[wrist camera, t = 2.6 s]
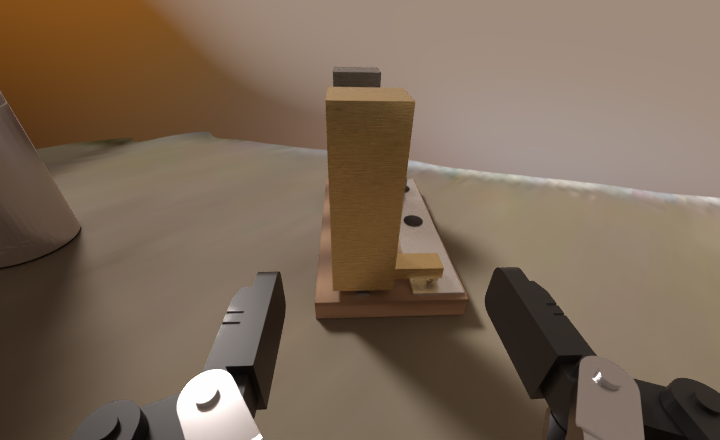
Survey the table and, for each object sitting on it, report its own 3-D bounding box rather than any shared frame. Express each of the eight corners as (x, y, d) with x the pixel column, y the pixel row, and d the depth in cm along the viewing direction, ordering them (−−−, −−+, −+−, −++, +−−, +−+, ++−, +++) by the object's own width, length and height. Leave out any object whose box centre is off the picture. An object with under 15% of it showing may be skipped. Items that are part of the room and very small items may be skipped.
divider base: (463, 314, 27) (527, 119, 17) (316, 318, 26) (298, 117, 16) (412, 191, 46) (429, 67, 36) (326, 191, 45) (321, 64, 36)
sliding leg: (445, 290, 25) (493, 102, 17) (332, 292, 25) (325, 100, 17) (433, 259, 29) (468, 88, 20) (333, 260, 28) (328, 86, 20)
